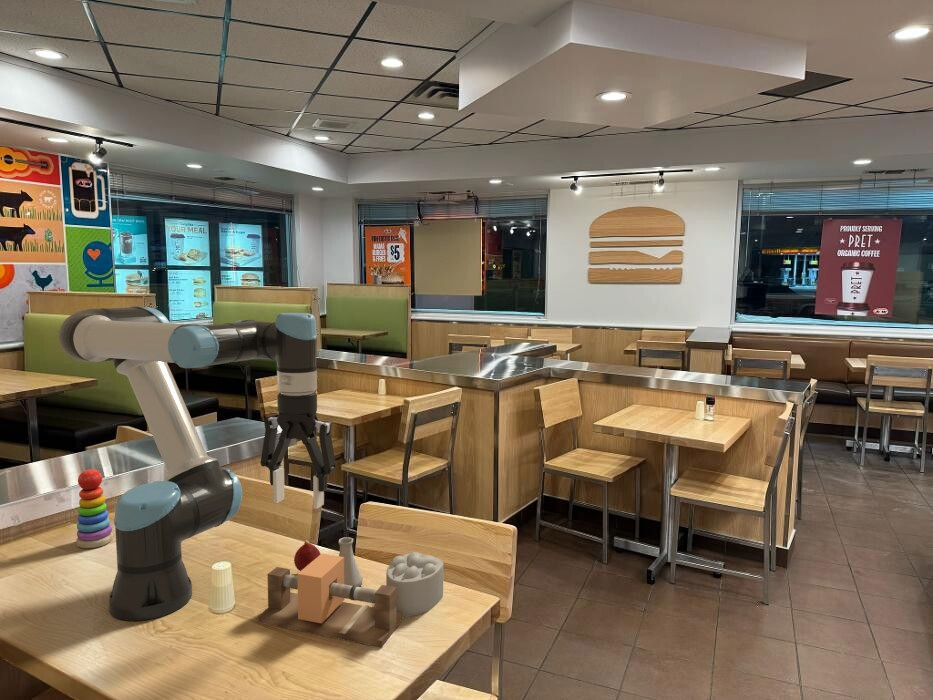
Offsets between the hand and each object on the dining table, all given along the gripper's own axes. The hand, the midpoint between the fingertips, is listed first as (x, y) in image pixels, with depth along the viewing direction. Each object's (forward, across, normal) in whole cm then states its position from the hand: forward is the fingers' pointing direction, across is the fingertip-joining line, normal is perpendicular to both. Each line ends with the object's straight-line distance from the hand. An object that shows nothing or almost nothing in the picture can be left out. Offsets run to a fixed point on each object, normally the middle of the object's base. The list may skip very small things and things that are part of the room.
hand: (298, 503), depth 124 cm
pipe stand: (+21, +9, -4) cm, 23 cm away
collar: (+19, +7, -4) cm, 21 cm away
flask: (+22, +5, +10) cm, 24 cm away
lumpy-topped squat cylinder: (+22, +21, +9) cm, 31 cm away
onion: (+22, -5, +12) cm, 25 cm away
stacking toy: (+22, -63, +10) cm, 67 cm away
